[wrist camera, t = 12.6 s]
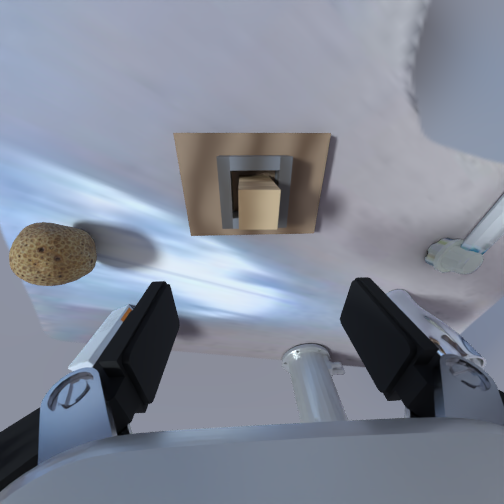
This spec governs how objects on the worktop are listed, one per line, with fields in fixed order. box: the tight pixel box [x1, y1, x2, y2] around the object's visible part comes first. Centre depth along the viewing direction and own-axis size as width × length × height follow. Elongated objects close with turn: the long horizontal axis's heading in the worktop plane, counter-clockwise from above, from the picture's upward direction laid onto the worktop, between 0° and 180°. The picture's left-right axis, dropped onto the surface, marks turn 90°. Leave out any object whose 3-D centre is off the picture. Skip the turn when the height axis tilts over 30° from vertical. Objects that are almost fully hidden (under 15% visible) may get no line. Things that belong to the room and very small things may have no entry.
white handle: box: [425, 194, 504, 274], centre depth 30 cm, size 5×7×25 cm
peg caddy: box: [173, 133, 331, 236], centre depth 27 cm, size 20×14×5 cm
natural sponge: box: [9, 222, 97, 286], centre depth 27 cm, size 9×9×10 cm
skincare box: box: [68, 305, 133, 371], centre depth 35 cm, size 6×4×12 cm
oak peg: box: [238, 175, 281, 230], centre depth 23 cm, size 4×4×10 cm
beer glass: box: [386, 289, 486, 369], centre depth 35 cm, size 7×7×15 cm
